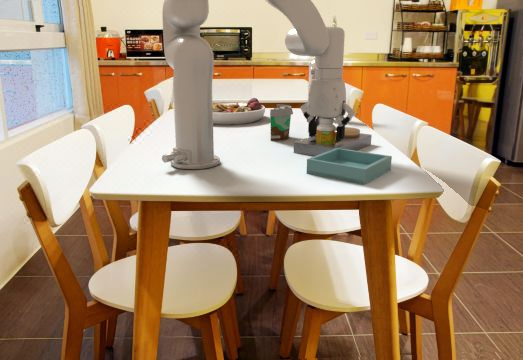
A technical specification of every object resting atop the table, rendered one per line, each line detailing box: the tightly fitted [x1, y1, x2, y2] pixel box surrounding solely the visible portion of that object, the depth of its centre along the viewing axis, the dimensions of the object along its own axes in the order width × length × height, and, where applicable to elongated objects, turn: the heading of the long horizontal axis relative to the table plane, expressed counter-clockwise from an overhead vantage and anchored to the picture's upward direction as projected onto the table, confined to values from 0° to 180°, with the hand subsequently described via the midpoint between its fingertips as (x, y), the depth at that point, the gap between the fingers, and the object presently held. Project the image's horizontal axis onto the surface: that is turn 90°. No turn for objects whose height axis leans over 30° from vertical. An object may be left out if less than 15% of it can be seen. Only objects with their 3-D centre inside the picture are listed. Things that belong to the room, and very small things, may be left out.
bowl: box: [212, 97, 266, 126], centre depth 188 cm, size 30×30×8 cm
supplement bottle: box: [316, 117, 337, 145], centre depth 136 cm, size 5×5×10 cm
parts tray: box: [306, 148, 393, 185], centre depth 116 cm, size 15×15×4 cm
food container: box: [269, 103, 294, 142], centre depth 153 cm, size 12×6×10 cm, turn 168°
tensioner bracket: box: [293, 126, 373, 157], centre depth 140 cm, size 23×13×4 cm, turn 143°
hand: (325, 137), depth 136 cm, fingers open, 8 cm apart
